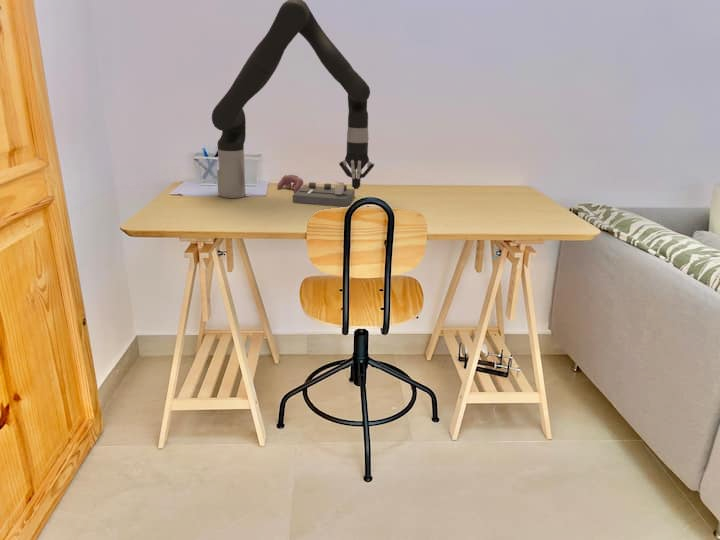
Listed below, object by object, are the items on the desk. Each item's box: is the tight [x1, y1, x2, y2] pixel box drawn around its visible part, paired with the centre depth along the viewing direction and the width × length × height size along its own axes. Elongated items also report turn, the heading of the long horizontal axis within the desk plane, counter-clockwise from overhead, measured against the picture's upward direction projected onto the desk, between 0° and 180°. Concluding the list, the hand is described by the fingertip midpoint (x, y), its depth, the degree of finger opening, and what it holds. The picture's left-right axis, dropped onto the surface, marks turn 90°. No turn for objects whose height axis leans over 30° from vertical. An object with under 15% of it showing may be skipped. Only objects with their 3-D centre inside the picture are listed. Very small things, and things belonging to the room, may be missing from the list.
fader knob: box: [334, 181, 345, 195], centre depth 202 cm, size 2×4×4 cm, turn 171°
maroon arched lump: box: [276, 174, 304, 194], centre depth 218 cm, size 10×5×7 cm, turn 58°
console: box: [292, 182, 356, 207], centre depth 206 cm, size 20×16×5 cm
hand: (356, 188), depth 201 cm, fingers closed
